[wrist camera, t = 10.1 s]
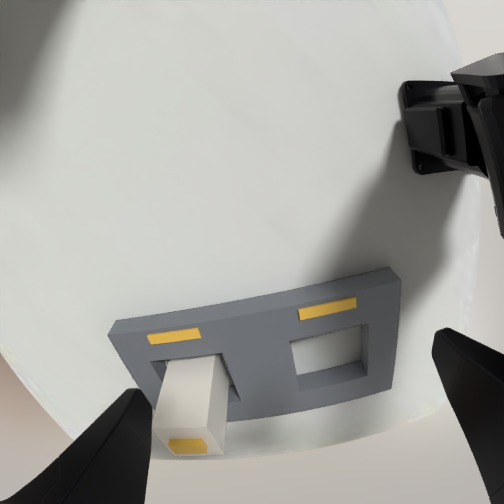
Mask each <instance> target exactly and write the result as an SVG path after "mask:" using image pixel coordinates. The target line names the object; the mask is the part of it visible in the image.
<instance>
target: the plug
mask: <svg viewBox="0 0 504 504" xmlns="http://www.w3.org/2000/svg"><path fill="white" fill-rule="evenodd" d="M228 387H229V378H228V375H227V373H226V371H225V368H224V366H223V363H222V361H221V358H220V356H219V353H216V354H209V355H201V356H193V357H185V358H176V359H169V362H168V366H167V369H166V373H165V376H164V380H163V384H162V387H161V391H160V394H159V398H158V402H157V405H156V409H155V413H154V417H153V420H152V431H153V432H154V434H155V435H156V436H157V437H158V438H159V440H160V441H161V442H162V443H163V444H164V445H165V447H166V448H167V449H168V450H169V451H170V452H171V453H172V454H173V456H209V455H225V438H226V420H227V404H228Z"/></svg>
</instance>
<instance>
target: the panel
mask: <svg viewBox="0 0 504 504" xmlns="http://www.w3.org/2000/svg"><path fill="white" fill-rule="evenodd" d="M400 291H401V280H400V278H399V277H398V276H397V275H396V274H395V273H394V272H393V270H392V269H391V268H390V267H389V268H385V269H381V270H377V271H373V272H369V273H365V274H360V275H356V276H352V277H348V278H343V279H339V280H334V281H330V282H325V283H321V284H316V285H312V286H307V287H302V288H298V289H293V290H288V291H283V292H278V293H273V294H268V295H263V296H258V297H253V298H248V299H243V300H237V301H232V302H227V303H221V304H216V305H210V306H204V307H199V308H193V309H187V310H181V311H175V312H169V313H163V314H156V315H150V316H143V317H137V318H130V319H123V320H116V321H115V323H114V325H113V326H112V328H111V330H110V332H109V333H108V337H109V339H110V341H111V342H112V344H113V346H114V348H115V349H116V351H117V353H118V354H119V356H120V358H121V360H122V361H123V363H124V364H125V366H126V368H127V369H128V371H129V373H130V374H131V376H132V377H133V379H134V380H135V382H136V384H137V385H138V387H139V388H140V389H141V390H142V392H143V393H144V395H145V396H146V398H147V399H148V400H149V402H150V403H151V406H152V407H153V409H154V410H155V409H156V405H157V402H158V398H159V394H160V391H161V387H162V384H163V380H164V376H165V373H166V369H167V367H166V365H165V363H164V361H163V360H167V359H176V358H185V357H193V356H201V355H209V354H216V353H222V354H223V357H224V359H225V362H226V364H227V367H228V369H229V372H230V374H231V377H232V379H233V382H234V384H235V386H229V387H228V404H227V420H226V422H233V421H242V420H250V419H258V418H265V417H272V416H278V415H285V414H290V413H296V412H301V411H306V410H311V409H316V408H321V407H325V406H330V405H334V404H338V403H342V402H346V401H350V400H354V399H358V398H362V397H365V396H369V395H372V394H376V393H379V392H382V391H386V390H389V389H391V387H392V380H393V373H394V365H395V357H396V348H397V338H398V326H399V311H400ZM358 325H362V360H361V361H358V362H354V363H350V364H346V365H342V366H338V367H334V368H329V369H325V370H321V371H316V372H311V373H307V374H302V375H296V369H295V364H294V359H293V354H292V349H291V344H290V341H292V340H297V339H302V338H306V337H311V336H316V335H320V334H324V333H329V332H333V331H337V330H342V329H346V328H350V327H354V326H358Z"/></svg>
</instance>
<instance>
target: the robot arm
mask: <svg viewBox="0 0 504 504" xmlns="http://www.w3.org/2000/svg"><path fill="white" fill-rule="evenodd" d="M450 74H451V76H452V78H453V80H454V82H447V81H405V82H403V83H402V86H401V87H402V93H403V98H404V104H405V111H404V114H405V120H406V127H407V134H408V141H409V147H410V148H411V152H412V161H413V169H414V171H415V173H417V174H420V175H425V174H432V173H439V172H446V171H454V170H462V171H465V172H468V173H471V174H474V175H477V176H480V177H483V178H486V179H489V181H490V185H491V189H492V193H493V198H494V203H495V207H494V208H495V213H496V216H497V219H498V225H499V229H500V233H501V236H502V237H503V239H504V53H498V54H495V55H492V56H490V57H487V58H484V59H482V60H480V61H477V62H475V63H472V64H470V65H467V66H465V67H463V68H460V69H458V70H456V71H454V72H451V73H450ZM408 85H409V86H410V87H411V90H410V91H409V90H408V88H407V86H408ZM420 164H421V165H422V169H421V170H419V165H420ZM432 358H433V360H434V363H435V366H436V368H437V371H438V373H439V376H440V379H441V381H442V384H443V387H444V390H445V392H446V395H447V397H448V400H449V402H450V404H451V406H452V408H453V410H454V412H455V414H456V416H457V419H458V421H459V423H460V425H461V428H462V430H463V432H464V434H465V437H466V439H467V441H468V443H469V446H470V448H471V451H472V453H473V455H474V458H475V460H476V463H477V465H478V468H479V471H480V473H481V476H482V478H483V481H484V484H485V487H486V490H487V493H488V496H489V497H490V498H489V499H490V502H491V504H504V354H502V353H500V352H498V351H496V350H494V349H492V348H490V347H488V346H486V345H483V344H481V343H479V342H477V341H475V340H473V339H471V338H469V337H467V336H465V335H463V334H461V333H459V332H457V331H455V330H453V329H451V328H443V329H441V330H438V331H436V333H435V336H434V341H433V346H432ZM152 413H153V410H152V406H151V403H150V402H149V400H148V399H147V398H146V396H145V395H144V393H143V392H142V390H141V389H139V388H129V389H127V390H126V391H125V392H124V393H123V394H122V395H121V396H120V397H119V398H118V399H117V400H116V401H115V402H114V403H113V404H111V405H110V406H109V407H108V408H107V409H106V410H105V411H104V412H103V413H102V414H101V415H100V416H99V417H98V418H97V419H96V420H95V421H94V422H93V423H92V424H91V425H90V426H89V427H88V428H87V429H86V430H85V431H84V432H83V433H82V434H81V435H80V436H79V437H78V438H77V439H76V440H75V441H74V442H73V443H72V444H71V445H70V446H69V447H68V448H67V449H66V450H65V451H64V452H63V453H62V454H61V455H60V456H59V458H57V459H55V460H54V461H53V462H52V463H51V464H50V465H49V466H48V467H47V468H46V469H45V470H44V471H43V472H42V473H40V474H39V475H38V476H37V477H36V478H34V479H33V480H32V481H31V482H30V483H28V484H27V485H26V486H24V487H23V488H22V489H20V490H19V491H18V492H17V493H15V494H14V495H13V496H11V497H10V498H8V499H6V500H3V501H0V504H144V502H145V494H146V485H147V477H148V469H149V462H150V454H151V437H152Z"/></svg>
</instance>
